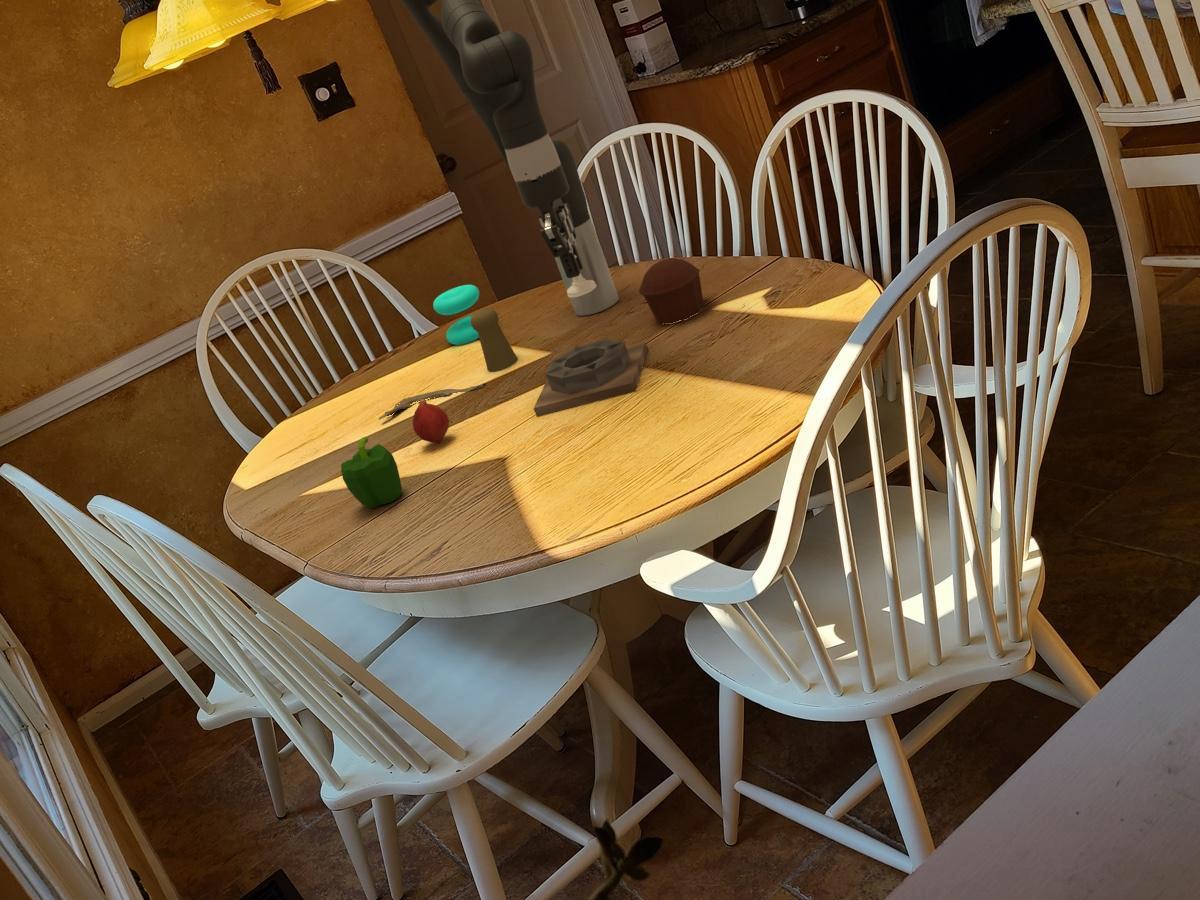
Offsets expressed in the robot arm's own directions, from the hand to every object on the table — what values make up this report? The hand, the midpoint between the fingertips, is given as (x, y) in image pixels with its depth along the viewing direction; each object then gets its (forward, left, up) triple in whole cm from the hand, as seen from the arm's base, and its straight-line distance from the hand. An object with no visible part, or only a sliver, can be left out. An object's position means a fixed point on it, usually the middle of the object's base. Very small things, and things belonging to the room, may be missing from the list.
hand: (575, 273), depth 177 cm
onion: (+9, -29, -19) cm, 36 cm away
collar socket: (0, -3, -19) cm, 19 cm away
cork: (-21, -26, -19) cm, 38 cm away
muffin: (-22, +10, -19) cm, 30 cm away
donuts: (-44, -38, -19) cm, 61 cm away
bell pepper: (+26, -33, -19) cm, 46 cm away
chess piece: (0, 0, -3) cm, 3 cm away
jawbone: (-10, -37, -19) cm, 43 cm away
